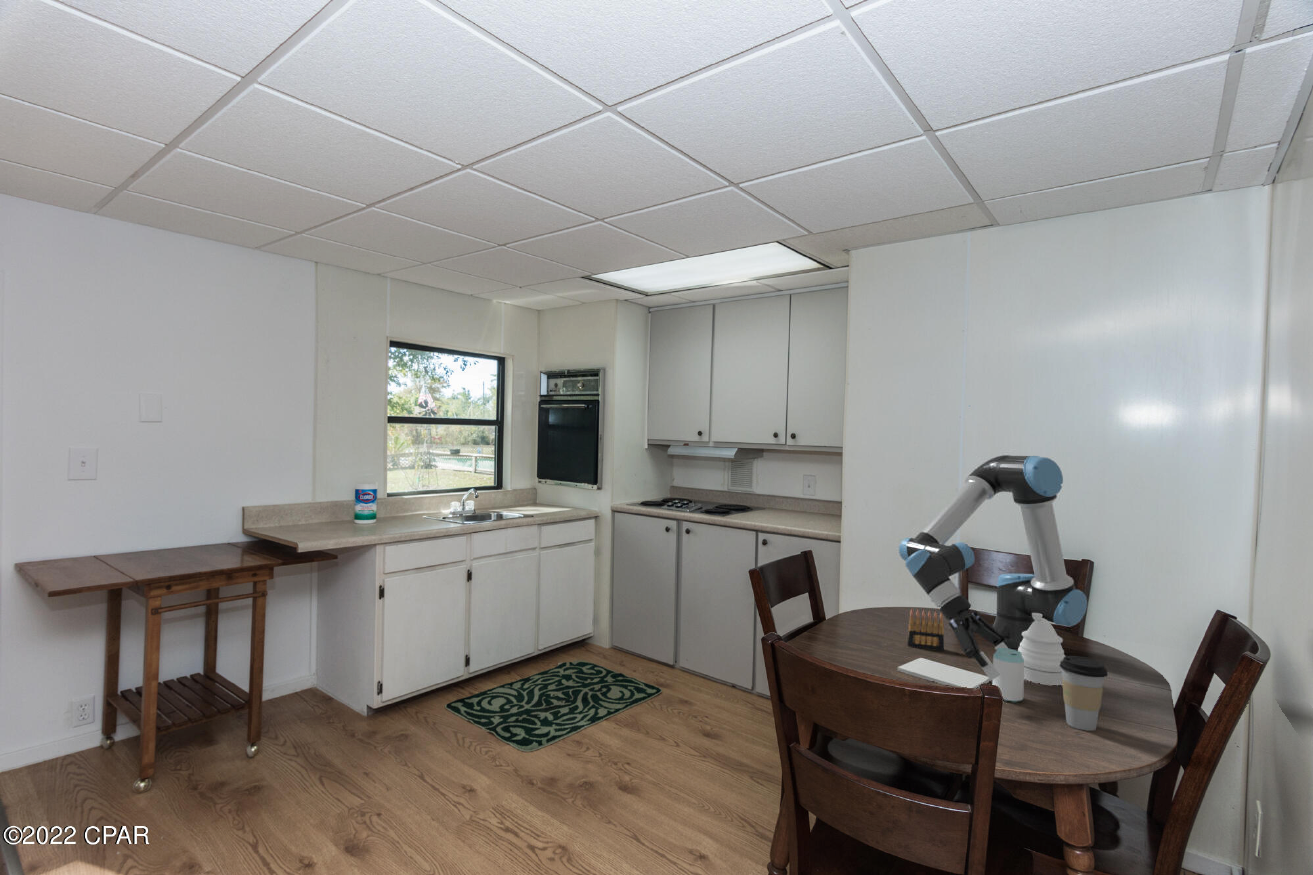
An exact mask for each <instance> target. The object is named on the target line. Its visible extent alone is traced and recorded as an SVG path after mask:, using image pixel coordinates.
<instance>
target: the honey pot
mask: <svg viewBox="0 0 1313 875" xmlns="http://www.w3.org/2000/svg"><path fill="white" fill-rule="evenodd" d="M1032 617H1033V619H1034V620H1035V621H1034V622H1033V623H1032V624H1031V626H1030V627H1029V629H1028V630H1027V631H1024V632H1022V636H1023V637H1024V638H1023V640H1022V642H1021V643H1020V647H1019V648H1018V649H1017V651H1019V652H1020V653H1021V654H1022V655H1021V656H1022V657H1023V659H1024V680H1025V679H1026V680H1025V681H1027V680H1028V681H1027V682H1030V681H1032V682H1031V683H1035V684H1038V683H1040V684H1039V685H1045V686H1052V685H1057V686H1056V687H1059V686H1058V685H1061V686H1063V685H1062V677H1063V675H1062V668H1061V667H1060V666H1059V665H1060V662H1061V661H1063V659H1064V657H1066V655H1065V650H1064V649H1063V647H1062V643H1063V641H1064V639H1063V637H1061V636H1059V635H1058V633H1057V632H1056V630H1055V629H1054V627H1053V625H1052V624H1051V622H1049V621H1047V620H1046V619H1044V618H1042V614H1039V613H1032Z"/></svg>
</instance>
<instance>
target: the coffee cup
mask: <svg viewBox="0 0 1313 875" xmlns="http://www.w3.org/2000/svg"><path fill="white" fill-rule="evenodd" d="M1059 666H1060V667H1061V668H1062V675H1063V677H1062V685H1061V686H1062V694H1063V696H1062V697H1063V702H1064V711H1065V722H1066V723H1067V725H1068V726H1070V727H1072V728H1073V729H1077V730H1081V731H1087V732H1093V731H1096V729H1097V724H1098V718H1099V711H1100V709H1101V703H1102V699H1103V691H1104V678H1105V677H1108V675H1109V674H1108V670H1107V669H1106V668H1105V665H1104V663H1102V662H1100V661H1099V660H1097V659H1092V658H1088V657H1086V656H1085V657H1083V656H1079V655H1065V657H1064V659H1063V661H1061V662H1060V665H1059Z"/></svg>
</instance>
